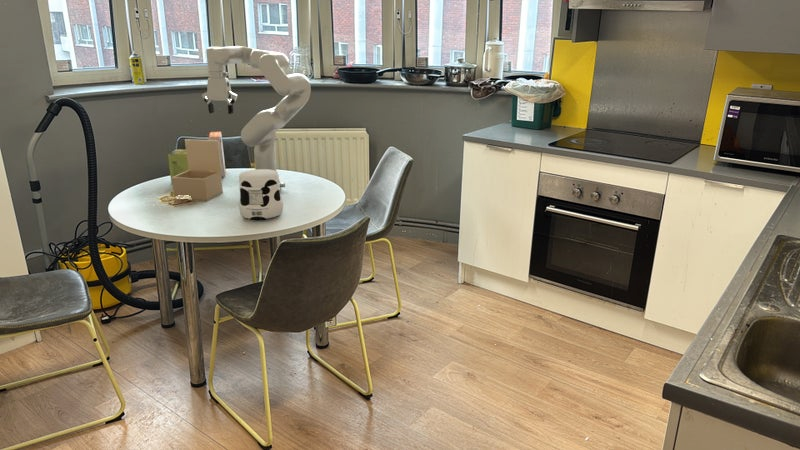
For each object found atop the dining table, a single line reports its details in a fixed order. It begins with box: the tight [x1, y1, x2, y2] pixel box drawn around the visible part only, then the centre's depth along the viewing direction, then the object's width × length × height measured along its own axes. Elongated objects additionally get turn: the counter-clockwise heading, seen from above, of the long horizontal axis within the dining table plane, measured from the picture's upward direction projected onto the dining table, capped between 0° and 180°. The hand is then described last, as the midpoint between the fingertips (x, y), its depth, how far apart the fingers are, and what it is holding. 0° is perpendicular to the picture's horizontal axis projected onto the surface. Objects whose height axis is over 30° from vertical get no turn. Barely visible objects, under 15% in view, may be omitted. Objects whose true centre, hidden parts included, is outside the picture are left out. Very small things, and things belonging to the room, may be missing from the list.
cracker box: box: [208, 131, 226, 178], centre depth 308 cm, size 14×6×21 cm, turn 14°
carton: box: [171, 170, 224, 202], centre depth 273 cm, size 16×14×10 cm
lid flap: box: [184, 138, 222, 171], centre depth 278 cm, size 16×14×6 cm
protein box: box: [167, 149, 202, 186], centre depth 294 cm, size 10×15×16 cm
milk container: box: [238, 169, 284, 222], centre depth 243 cm, size 17×17×18 cm
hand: (221, 113), depth 281 cm, fingers open, 9 cm apart
